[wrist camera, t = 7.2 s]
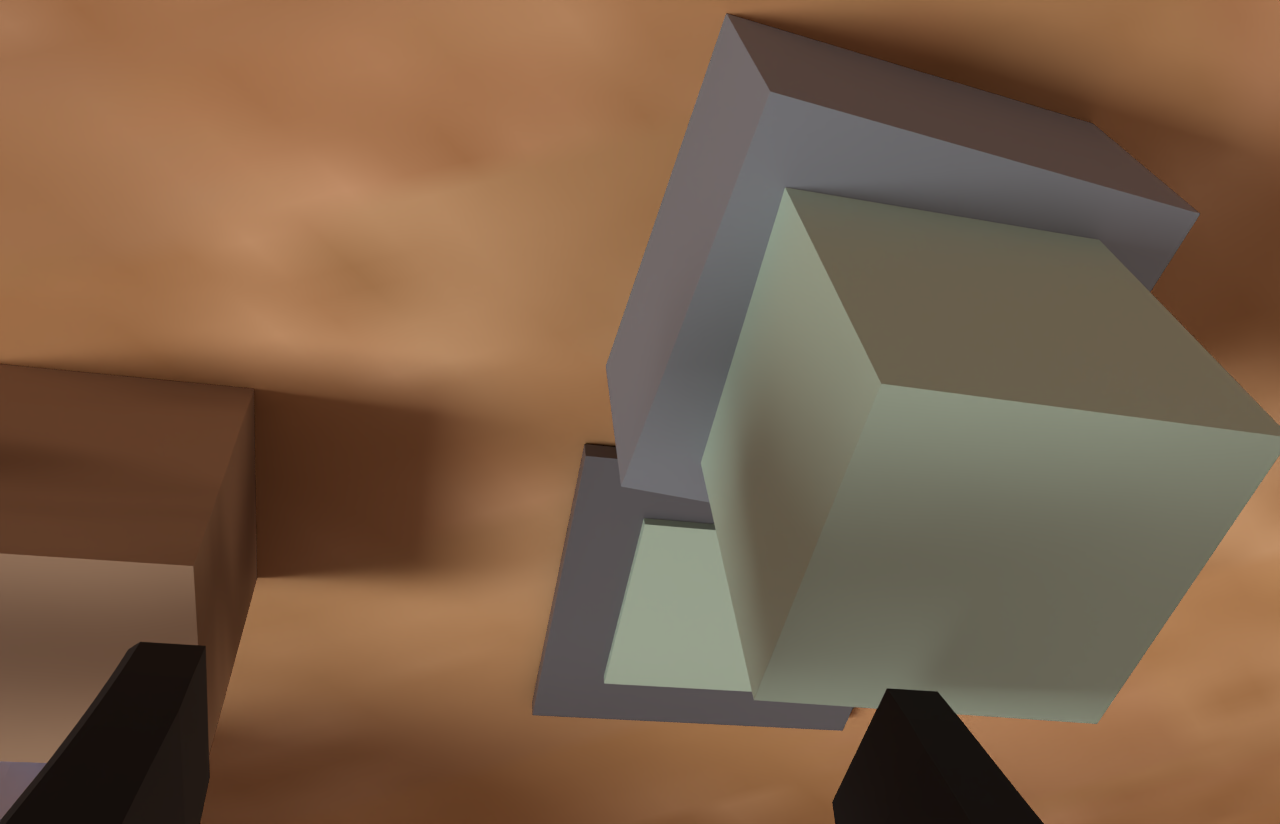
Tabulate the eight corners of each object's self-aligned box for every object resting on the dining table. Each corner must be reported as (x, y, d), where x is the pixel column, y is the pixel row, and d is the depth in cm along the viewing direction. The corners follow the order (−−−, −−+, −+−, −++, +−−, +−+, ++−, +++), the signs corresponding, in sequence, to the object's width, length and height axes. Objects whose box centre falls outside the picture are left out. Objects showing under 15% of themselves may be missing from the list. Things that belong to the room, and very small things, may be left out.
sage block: (973, 493, 19) (1097, 723, 15) (701, 462, 18) (753, 700, 14) (1099, 240, 16) (1290, 438, 12) (785, 187, 15) (881, 383, 11)
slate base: (918, 425, 23) (983, 552, 20) (604, 358, 22) (620, 486, 18) (1086, 118, 20) (1200, 213, 16) (723, 9, 18) (770, 91, 15)
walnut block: (257, 575, 24) (205, 768, 20) (9, 558, 23) (-100, 758, 19) (254, 386, 21) (193, 566, 17) (-29, 358, 20) (-166, 542, 16)
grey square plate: (838, 718, 28) (844, 737, 28) (532, 701, 27) (532, 721, 26) (944, 479, 24) (954, 496, 23) (584, 444, 22) (586, 462, 22)
